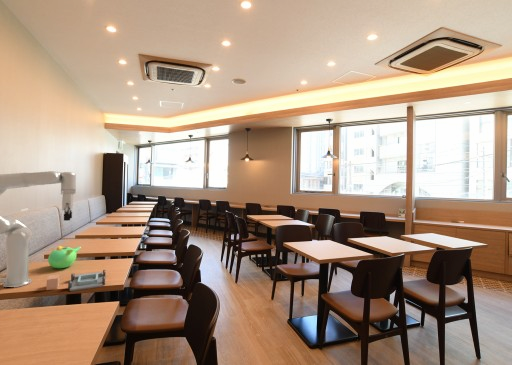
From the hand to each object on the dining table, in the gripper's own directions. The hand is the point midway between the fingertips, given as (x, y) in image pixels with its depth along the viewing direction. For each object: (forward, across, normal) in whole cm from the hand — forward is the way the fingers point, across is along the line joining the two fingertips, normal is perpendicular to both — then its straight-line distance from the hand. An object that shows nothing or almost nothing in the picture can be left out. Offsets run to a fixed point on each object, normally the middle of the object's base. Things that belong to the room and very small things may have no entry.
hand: (67, 219), depth 170 cm
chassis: (+37, +14, +12) cm, 41 cm away
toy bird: (+37, -25, -5) cm, 45 cm away
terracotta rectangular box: (+37, +14, -5) cm, 40 cm away
